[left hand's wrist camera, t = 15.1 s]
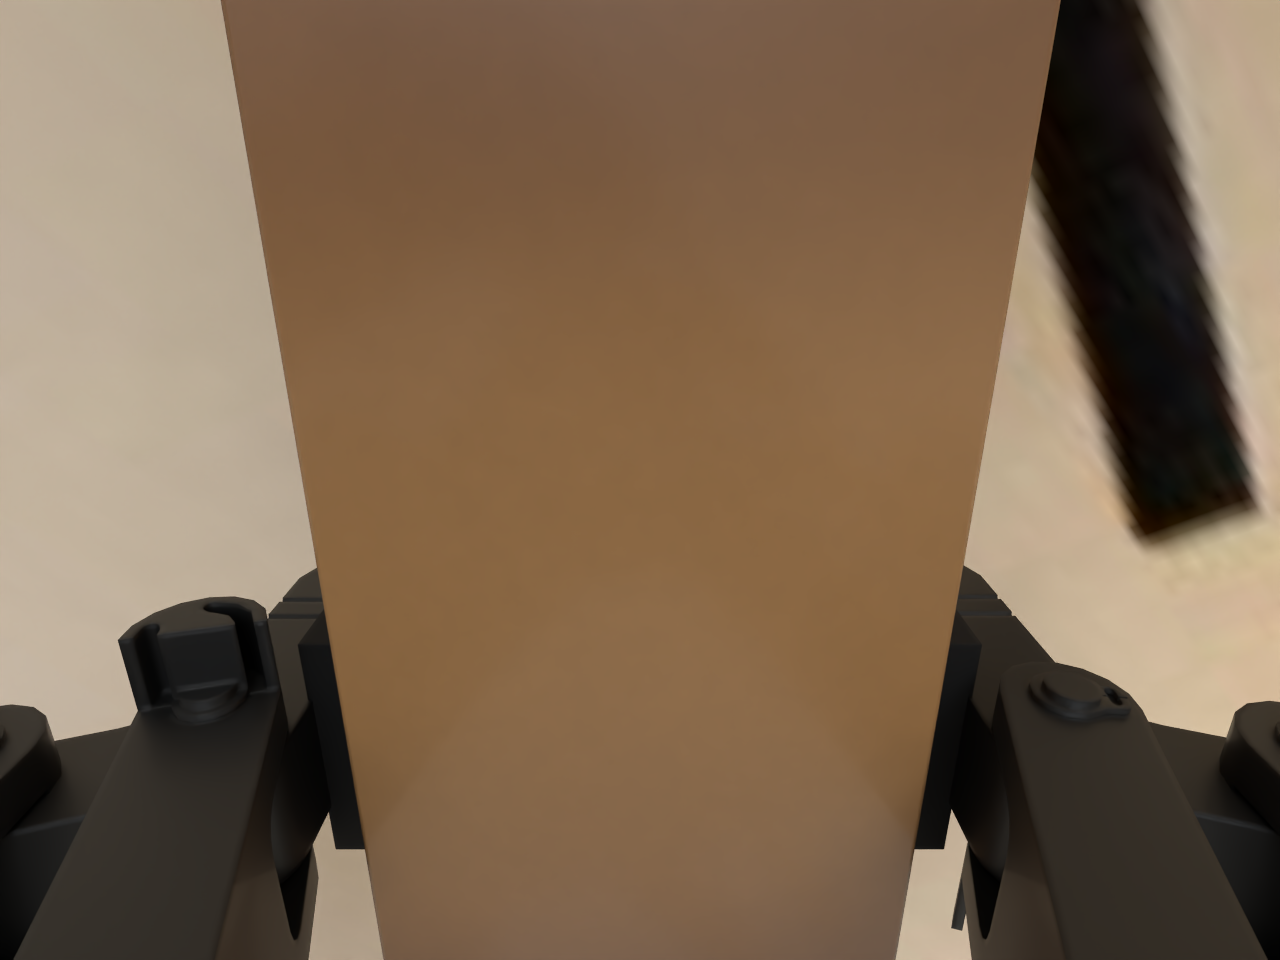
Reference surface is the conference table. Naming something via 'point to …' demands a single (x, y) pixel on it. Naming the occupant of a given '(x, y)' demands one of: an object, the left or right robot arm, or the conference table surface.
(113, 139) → the conference table surface
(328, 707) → the left robot arm
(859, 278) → the bar
